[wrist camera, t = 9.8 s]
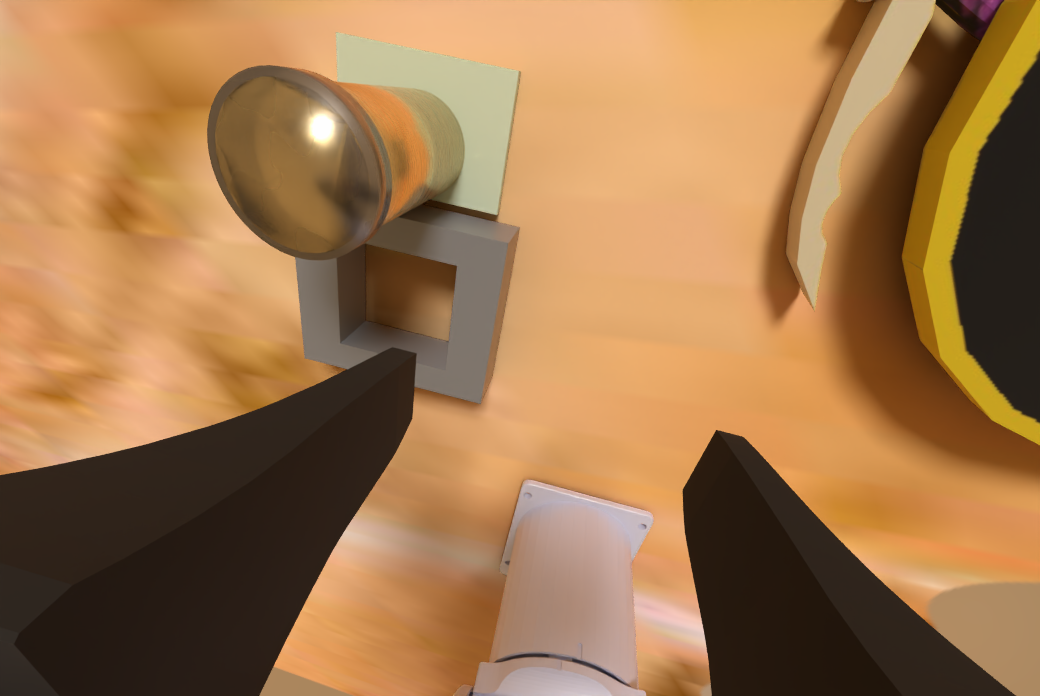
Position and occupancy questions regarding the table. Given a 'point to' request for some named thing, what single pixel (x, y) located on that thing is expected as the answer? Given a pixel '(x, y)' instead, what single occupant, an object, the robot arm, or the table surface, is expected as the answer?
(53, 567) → the robot arm
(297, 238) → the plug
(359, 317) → the gray block
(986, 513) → the table surface
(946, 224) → the wall ornament
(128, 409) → the table surface
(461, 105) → the mat
